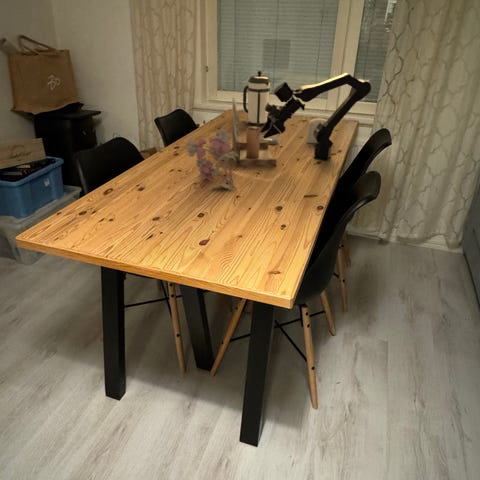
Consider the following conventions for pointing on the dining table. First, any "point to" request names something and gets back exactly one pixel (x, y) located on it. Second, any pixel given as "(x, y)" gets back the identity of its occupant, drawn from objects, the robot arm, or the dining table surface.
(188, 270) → the dining table surface
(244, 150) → the cold frame
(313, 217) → the dining table surface
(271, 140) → the grey plate
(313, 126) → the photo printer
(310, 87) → the robot arm
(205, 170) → the flower
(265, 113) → the coffee press
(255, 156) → the tan tapered cylinder
